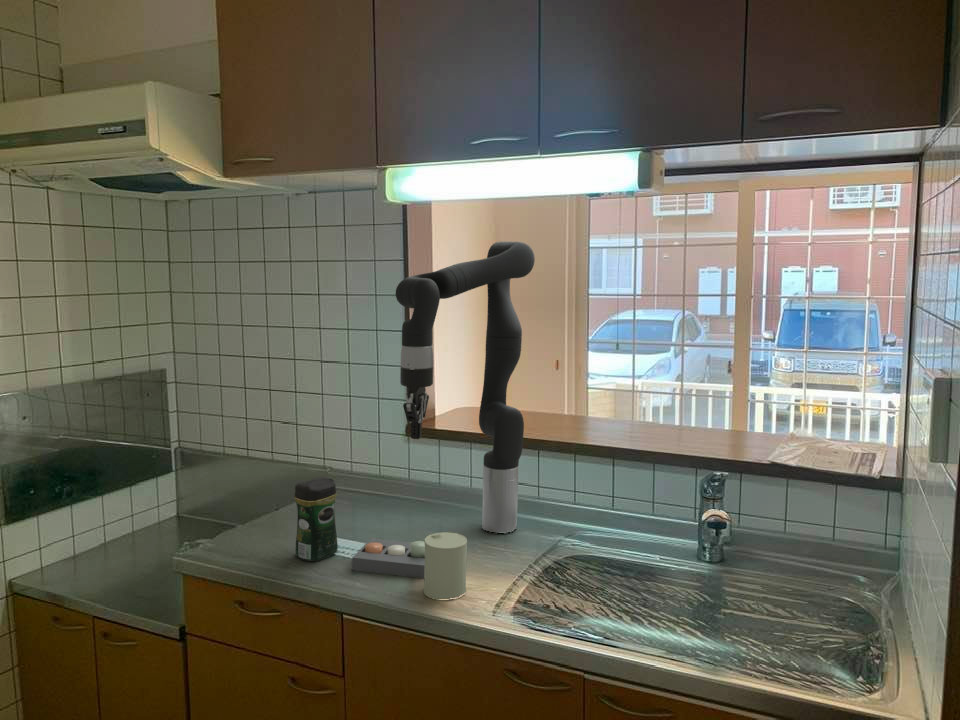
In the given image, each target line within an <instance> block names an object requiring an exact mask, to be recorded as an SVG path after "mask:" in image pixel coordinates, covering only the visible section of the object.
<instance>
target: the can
mask: <svg viewBox="0 0 960 720" xmlns="http://www.w3.org/2000/svg"><path fill="white" fill-rule="evenodd" d="M423 541H424V542H425V578H423V579H424V581H423V582H424V585H423V593H424V595H425V597H427V596H428V598H429V597H431V598H434V599H450V598H455V597H459V596H460V595H462V594H464V593H465V592H466V593H467V546H468V545H467V544H468V539H467V537H466V536H464V535H462V534H460V533H456V532H447V531H446V532H445V531H444V532H443V531H441V532H435V533H431V534H429V535H427V536H426V537H425V538H424V540H423ZM431 598H430V599H431ZM434 599H433V600H434Z"/></svg>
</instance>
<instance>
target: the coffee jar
mask: <svg viewBox="0 0 960 720" xmlns="http://www.w3.org/2000/svg"><path fill="white" fill-rule="evenodd" d="M337 493H338V492H337V485H336V481H335V480H334V479H333V478H330V477H327V476H324V475H323V476H320V477H316V478H313V479H309V480H306V481H303V482H298V483H297V484H296V485H295V487H294V501H295V504H296V507H297V523H296V524H297V525H296V526H297V527H296V538H295V539H296V541H295V555H296V557H297V558H299V559H301V560H303V561H305V562H306V561H310V562H316V561H317V562H318V561H321V560H324V559H326V558H328V557H331V556H333V555H334V554H336V553H337V551H338V547H339V546H338V535H337V534H338V533H337V528H336V525H337V524H336V515H335V514H336V513H335V505H336V504H335V503H336V499H337V495H338V494H337Z"/></svg>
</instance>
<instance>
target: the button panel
mask: <svg viewBox="0 0 960 720" xmlns="http://www.w3.org/2000/svg"><path fill="white" fill-rule="evenodd" d="M368 543H381V544H382V545H383V551H382V552H381V553H380V554H378V553H369V552H365V545H366V544H368ZM411 543H412V542H411V541H410V542H409V541H408V542H407V541H401V540H399V541H398V540H392V539H382V538H380V539H379V538H372V537H370V539H369V540H368V541H367V542H366V543H365V544H364V545H363V546H362V547H360V549H359V550H358V551H357V552H356V553H355V554H354V555H353V556H352V559H351V563H352V564H351V567H352V569H351V570H352V571H357V572H367V573H375V574H382V575H383V574H385V575H392V576H400V577H410V578H411V577H412V578H418V579H424V578H425V559H424V558H415V557H410V544H411ZM392 545H402V546H404V547H405V554H404V555H403V556H397V555H388V547H389V546H392Z"/></svg>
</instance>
